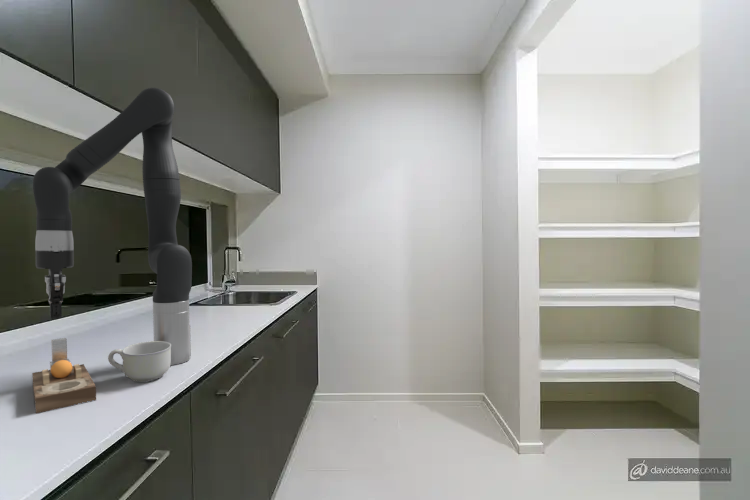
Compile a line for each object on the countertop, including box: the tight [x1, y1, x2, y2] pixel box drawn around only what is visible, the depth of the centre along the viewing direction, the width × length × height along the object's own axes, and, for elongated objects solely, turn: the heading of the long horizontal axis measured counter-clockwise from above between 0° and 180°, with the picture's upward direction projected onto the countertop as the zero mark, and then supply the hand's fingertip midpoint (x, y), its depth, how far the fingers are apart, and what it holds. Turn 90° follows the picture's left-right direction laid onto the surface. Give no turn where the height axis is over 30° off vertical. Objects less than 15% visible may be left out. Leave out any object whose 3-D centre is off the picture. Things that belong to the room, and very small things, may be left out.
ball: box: [51, 360, 73, 378], centre depth 94 cm, size 4×4×4 cm
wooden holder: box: [31, 363, 97, 414], centre depth 93 cm, size 21×10×5 cm, turn 41°
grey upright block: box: [49, 337, 71, 376], centre depth 97 cm, size 4×4×8 cm
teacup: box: [107, 340, 171, 383], centre depth 102 cm, size 14×11×8 cm
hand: (55, 318), depth 102 cm, fingers closed
